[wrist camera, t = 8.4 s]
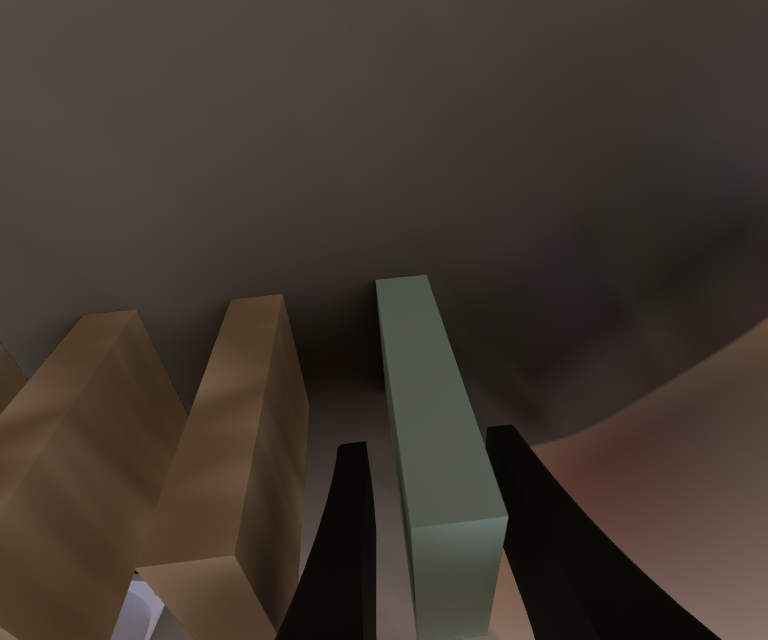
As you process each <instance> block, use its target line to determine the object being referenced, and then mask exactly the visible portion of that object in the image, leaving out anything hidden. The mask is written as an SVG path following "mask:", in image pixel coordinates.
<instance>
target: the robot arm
mask: <svg viewBox="0 0 768 640" xmlns="http://www.w3.org/2000/svg"><path fill="white" fill-rule="evenodd" d="M485 449H486V452H487V455H488V458H489V460H490V463H491V466H492V469H493V472H494V475H495V478H496V481H497V484H498V487H499V490H500V493H501V496H502V499H503V502H504V505H505V508H506V511H507V513H508V522H507V527H506V533H505V538H504V544H503V548H504V550H505V553H506V556H507V559H508V562H509V564H510V567H511V570H512V573H513V575H514V578H515V581H516V584H517V586H518V589H519V592H520V595H521V597H522V600H523V603H524V606H525V608H526V611H527V614H528V618H529V621H530V624H531V627H532V630H533V633H534V637H535V640H721V639H720V638H719V637H718V636H716V635H715V634H714V633H713V632H712V631H710V630H709V629H708V628H707V627H706V626H704V625H703V624H702V623H701V622H699V621H698V620H697V619H696V618H695V617H694V616H692V615H691V614H690V613H689V612H688V611H686V610H685V609H684V608H683V607H682V606H680V605H679V604H678V603H677V602H676V601H675V600H674V599H673V598H671V597H670V596H669V595H668V594H667V593H666V592H665V591H664V590H662V589H661V588H660V587H659V586H658V585H657V584H656V583H655V582H654V581H652V580H651V579H650V578H649V577H648V576H647V575H646V574H645V573H644V572H643V571H642V570H641V569H640V568H638V566H637V565H636V564H634V563H633V562H632V561H631V560H630V559H629V558H628V557H627V556H626V555H625V554H624V553H623V552H622V551H621V550H620V549H619V548H618V547H617V546H616V545H615V544H614V543H613V542H612V541H611V540H610V539H609V538H608V537H607V536H606V535H605V534H604V533H603V531H602V530H601V529H600V528H599V527H598V526H597V525H596V524H595V523H594V522H593V521H592V520H591V519H590V518H589V517H588V516H587V514H586V513H584V511H583V510H582V509H581V508H580V507H579V506H578V504H577V503H576V502H575V501H574V500H573V499H572V498H571V496H570V495H569V494H568V493H567V492H566V491H565V490H564V488H563V487H562V486H561V485H560V484H559V483H558V481H557V480H556V479H555V478H554V477H553V476H552V474H551V473H550V472H549V471H548V469H547V468H546V467H545V466H544V465H543V463H542V462H541V461H540V460H539V458H538V457H537V456H536V454H535V453H534V452H533V451H532V449H531V448H530V447H529V445H528V444H527V443H526V441H525V440H524V439H523V437H522V436H521V435H520V433H519V432H518V430H517V429H516V428H515V427H514V426H513V425H503V426H495V427H488V429H487V438H486V447H485ZM164 606H165V604H164V603H163V602H162V601H161V599H160V598H159V597H158V596H157V595H156V594H155V592H154V591H153V590H152V589H151V588H150V586H149V585H148V584H147V583H146V582H145V581H144V579H143V578H142V577H141V576H140V575H139V574H136V573H134V575H133V578H132V581H131V584H130V586H129V589H128V592H127V595H126V598H125V600H124V603H123V606H122V609H121V611H120V614H119V617H118V620H117V623H116V625H115V628H114V631H113V634H112V636H111V639H110V640H150V637H151V635H152V633H153V630H154V628H155V626H156V624H157V621H158V619H159V617H160V615H161V612H162V610H163V608H164ZM274 640H376V522H375V510H374V498H373V488H372V481H371V474H370V467H369V460H368V453H367V446H366V442H357V443H349V444H342V445H340V446H339V447H338V450H337V458H336V464H335V470H334V474H333V479H332V483H331V487H330V491H329V495H328V499H327V502H326V506H325V509H324V512H323V516H322V519H321V522H320V525H319V529H318V532H317V535H316V538H315V541H314V544H313V546H312V549H311V552H310V555H309V557H308V560H307V563H306V566H305V568H304V571H303V574H302V576H301V579H300V581H299V584H298V586H297V589H296V591H295V594H294V596H293V599H292V601H291V603H290V606H289V608H288V610H287V613H286V615H285V617H284V620H283V622H282V624H281V626H280V629H279V631H278V633H277V635H276V637H275V639H274Z"/></svg>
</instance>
